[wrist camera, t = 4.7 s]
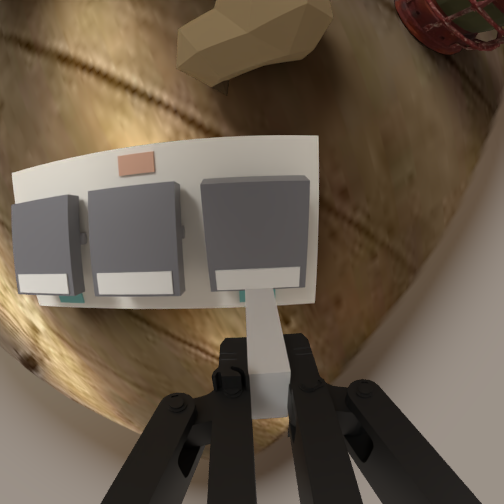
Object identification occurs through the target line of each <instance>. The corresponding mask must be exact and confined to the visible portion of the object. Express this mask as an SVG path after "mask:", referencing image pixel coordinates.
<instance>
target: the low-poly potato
mask: <svg viewBox="0 0 504 504" xmlns="http://www.w3.org/2000/svg"><path fill="white" fill-rule="evenodd" d="M332 20H333V13H332V8H331V3H330V0H216V3H215V6H214V9H212V10H210V11H208V12H206V13H204V14H203V15H201V16H199V17H197V18H195V19H194V20H192V21H190V22H189V23H187V24H185V25H184V26H182V27H180V28H179V29H178V38H177V62H176V69H178V70H180V71H182V72H184V73H186V74H188V75H190V76H192V77H193V78H195V79H197V80H199V81H201V82H203V83H204V84H206V85H208V86H210V87H212V88H214V89H215V90H217V91H219V92H221V93H223V94H225V95H227V93H228V82H229V79H231V78H234V77H236V76H239V75H241V74H243V73H246V72H248V71H251V70H253V69H256V68H259V67H261V66H264V65H270V64H276V63H282V62H288V61H296V60H302V59H303V58H304V57H306V56H307V55H308V54H309V53H310V52H312V51H313V50H314V48H315V47H316V45H317V44H318V42H319V41H320V39H321V37H322V36H323V34H324V33H325V31H326V30H327V28H328V26H329V25H330V23H331V22H332Z"/></svg>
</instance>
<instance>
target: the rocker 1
mask: <svg viewBox="0 0 504 504" xmlns="http://www.w3.org/2000/svg"><path fill="white" fill-rule="evenodd" d="M12 239H13V253H14V264H15V273H16V281H17V288H18V294H27V295H54V296H76V295H78V294H81V293H83V292H85V285H84V277H83V267H82V256H81V243H80V225H79V196H76V195H69V194H67V195H61V196H55V197H49V198H44V199H38V200H33V201H28V202H23V203H18V204H13V205H12Z"/></svg>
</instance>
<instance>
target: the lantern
mask: <svg viewBox="0 0 504 504" xmlns="http://www.w3.org/2000/svg"><path fill="white" fill-rule="evenodd" d="M394 4H395V7H396V9H397V12H398V14H399V16H400V18H401V20H402V22H403V23H404V25H405V26H406V27H407V29H408V30H409V31H410V33H411V34H412V35H414V36H415V37H416V38H417V39H418V40H419V41H421V42H422V43H423V44H424V45H425V46H427V47H428V48H430V49H432V50H434V51H436V52H439V53H442V54H447V55H452V54H454V53H457V52H460V51H461V49H462V48H464V49H466V50H479V51H482V50H483V51H492V50H494V49H496V48H497V47H499V46H500V44H503V43H504V37H502V35H503V36H504V29H502V28H501V26H504V0H394ZM493 29H496V30H497V32H498V34H497V38H496V39H495V40H491V41H488V42H484V41H481V40H478V39H474V38H475V37H476V35H477V34H478V33H480V32H485V31H490V30H493ZM475 41H477V42H480V43H476V42H475ZM467 44H468V45H470V46H468V47H466V46H467Z"/></svg>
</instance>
